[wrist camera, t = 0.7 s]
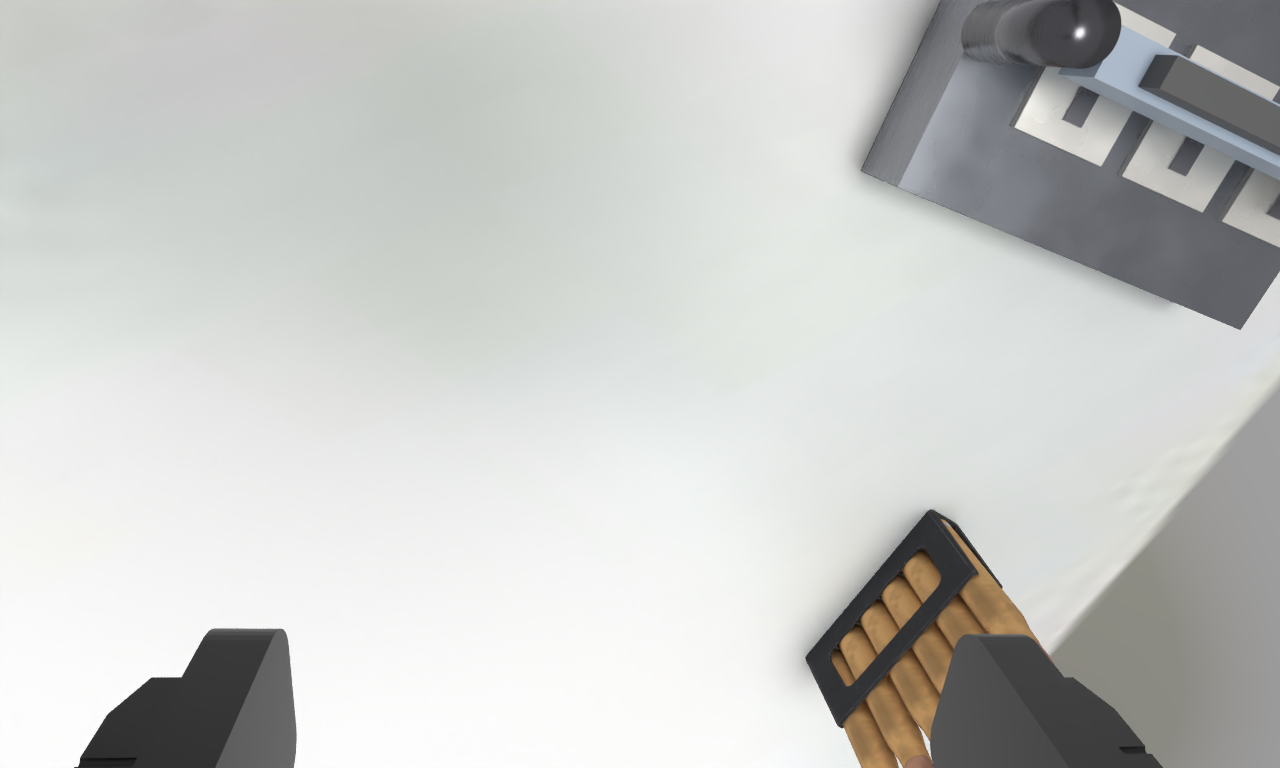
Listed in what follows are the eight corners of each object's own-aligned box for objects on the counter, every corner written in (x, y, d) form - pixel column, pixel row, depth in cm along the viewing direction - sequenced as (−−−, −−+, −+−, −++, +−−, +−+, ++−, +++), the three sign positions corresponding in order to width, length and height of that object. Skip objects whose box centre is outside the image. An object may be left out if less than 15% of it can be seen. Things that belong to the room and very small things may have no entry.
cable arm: (1077, 13, 28) (1151, 10, 24) (1405, 177, 31) (1510, 195, 28) (1040, 85, 29) (1106, 92, 25) (1363, 237, 32) (1460, 262, 29)
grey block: (994, -141, 31) (1180, -213, 22) (1338, 44, 36) (1615, 49, 26) (850, 166, 35) (958, 214, 26) (1175, 302, 39) (1367, 384, 30)
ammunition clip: (930, 507, 42) (1065, 674, 31) (957, 523, 43) (1099, 692, 32) (804, 658, 45) (887, 859, 34) (830, 670, 46) (921, 872, 35)
